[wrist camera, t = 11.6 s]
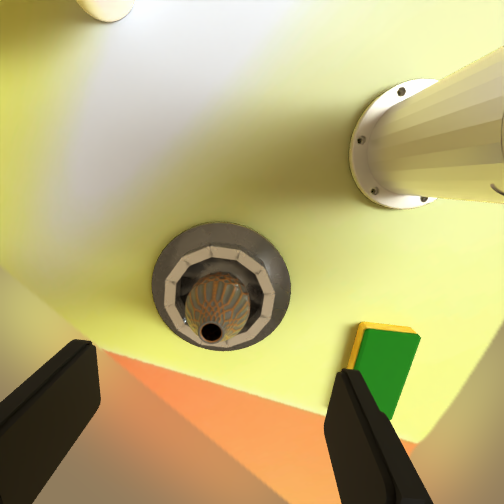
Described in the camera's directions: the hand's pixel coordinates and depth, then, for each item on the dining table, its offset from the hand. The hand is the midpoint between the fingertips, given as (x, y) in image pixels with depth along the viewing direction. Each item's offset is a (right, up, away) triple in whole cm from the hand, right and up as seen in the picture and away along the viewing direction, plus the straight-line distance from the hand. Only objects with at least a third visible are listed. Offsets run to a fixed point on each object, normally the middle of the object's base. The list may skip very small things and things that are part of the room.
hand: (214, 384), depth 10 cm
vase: (-2, 0, +21) cm, 21 cm away
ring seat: (-2, 0, +22) cm, 22 cm away
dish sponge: (+18, -11, +26) cm, 33 cm away
